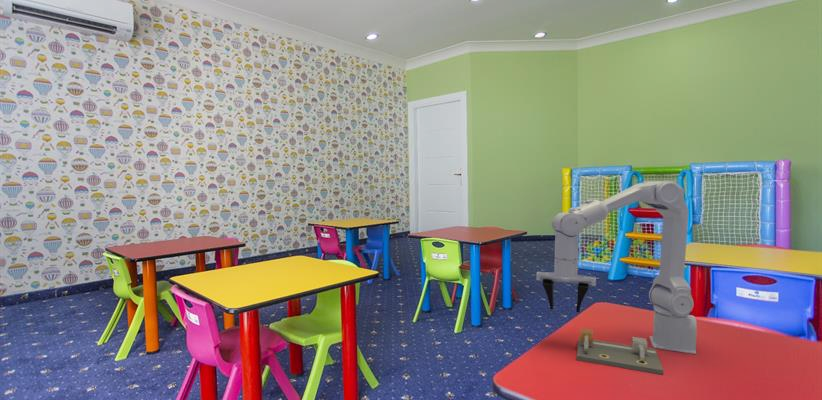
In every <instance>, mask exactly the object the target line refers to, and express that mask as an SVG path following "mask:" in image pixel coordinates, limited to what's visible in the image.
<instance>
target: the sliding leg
mask: <svg viewBox="0 0 822 400" xmlns="http://www.w3.org/2000/svg"><path fill="white" fill-rule="evenodd" d="M579 331H580V332H579V333H580V334H579V336H580V337H579V338H580V342H584V352H586V353H588V346H589V343H593V340H594V329H589V328H582V327H581V328H580V330H579Z"/></svg>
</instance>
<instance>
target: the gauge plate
mask: <svg viewBox="0 0 822 400" xmlns="http://www.w3.org/2000/svg"><path fill="white" fill-rule="evenodd" d="M577 339H578V340H577V341H578V342H577V349H576V350H577V352H576V360H577V361H581V362H586V363H594V364H599V365H603V366H604V365H605V366H610V367H611V366H612V367H615V368H621V369H627V370H633V371H639V372H644V373H645V372H646V373H651V374H655V375H656V374H657V375H664V368H663V366H662V362H661V360H660V358H659V355H658V353H657V350H656V348H653V347H652V348H651V347H647V353H645V358H644V362H640V361H639V360H640V352H636V351H633V349H632V344H631V345H630V344H623V343H617V342H611V341H605V340H598V339H593V343H589V346H588V353H586V352H584V342H580V337H578V338H577Z"/></svg>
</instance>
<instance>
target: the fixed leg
mask: <svg viewBox="0 0 822 400" xmlns="http://www.w3.org/2000/svg"><path fill="white" fill-rule="evenodd" d="M631 345H632V349H633V351H636V352H640V360H639V361H640V362H644V358H645V353H647V348H648V341H647V338H643V337H637V336H636V337H635V336H632V337H631Z"/></svg>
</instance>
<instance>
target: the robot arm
mask: <svg viewBox="0 0 822 400" xmlns="http://www.w3.org/2000/svg"><path fill="white" fill-rule="evenodd" d="M684 197H685V189H684V188H683V187H681V186H680V185H679V184H678V183H676V181H672V180H663V181H662V180H661V181H660V180H658V181H657V180H655V181H654V180H644V181H642V182H641V183H640V182H639V183H636V184H633V185H632V186H630V187H627V188H626V189H624V190H622V191H620V192H618V193H616V194H614V195H612V196H610V197H608V198H605V199H604V200H599V199H592V198H591V199H590V198H588V199H586V200H585V203H584V204H581V205H579V206H577V207H570V208H569V209H568V212H567V211H566V212H559V213H557V214H556V215H555V216H554V217H553V220H552V221H551V227H552V229H553V230H554V231H555V232H554V233H555V235H554V238H555V239H554V262H553V263H554V266H553V270H554V272H553V271H552V272H550V271H549V272H545V271H537V272H536V277H535V278H536V279H535V280H536V281H542V286H543V289H544V290H545V293H546V296H547V299H548V304H549V310H553V309H554V283H555V282H557V283H568V284H577V301H576V302H577V303H576V313H580V310H581V305H582V302H583V300H584V298H585V296H586V294H587V293H588V291H589V286H591V287H592V286H593V287H597V286H596V285H597V277H596V276H590V275H589V276H588V275H583V274H578V268H579V267H578V266H579V265H578V262H579V235H580V234H581V233H582V232H583V230H584V229H587V228H589V227H591V226H593V225H595V224H597V223H600V222H602V221H604V220H606V219H607V217H608V214H609V213H611V212H614V211H616V210H619V209H622V208H623V207H626V206H629V205H631V204H633V203H637V202H641V203H643V204H644V205H646V206H649V207H651V208H653V209H654V210H656V212H658V213H659V214H660V215H661V216H662V231H661V232H662V233H661V244H660V246H661V247H660V258H659V259H660V262H659V273H658V275H657V276H655V278H653V281H652V286H651V287H650V288H649V289H650V290H649V292H648V299H649V301H650V302H651V304H653V306H652V307H653V332H652V335H651V336H650V335H649V340H650V343H651V346H652V349H659V350H664V351H665V350H666V351H672V352H678V353H686V354H693V355H696V354H697V332H698V331H697V330H698V328H697V327H698V326H697V319H696V317H695V316H694V315H692V314H690V313H691V312H692V311H693V308H694V305H695V304H694V299H693V297H692V293H691V292H692V288H691V286H690V284H689V283H688V282H687V280H686V279H685V266H686V253H687V241H688V240H687V239H688V238H687V237H688V227H689V226H688V223H689V208H688V205H687V202H686V200H685V198H684Z"/></svg>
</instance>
